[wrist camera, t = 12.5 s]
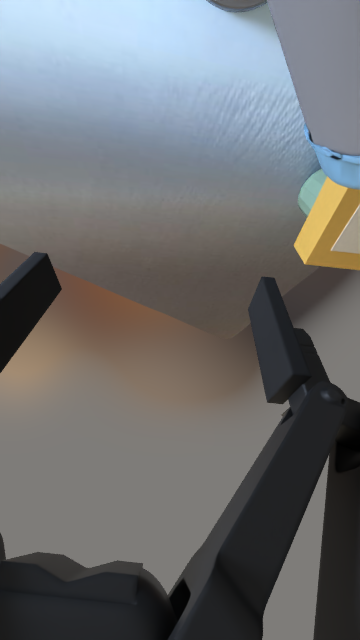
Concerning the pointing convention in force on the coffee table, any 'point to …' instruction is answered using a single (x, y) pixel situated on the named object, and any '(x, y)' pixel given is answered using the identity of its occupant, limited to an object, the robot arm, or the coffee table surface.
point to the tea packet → (332, 229)
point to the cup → (311, 191)
